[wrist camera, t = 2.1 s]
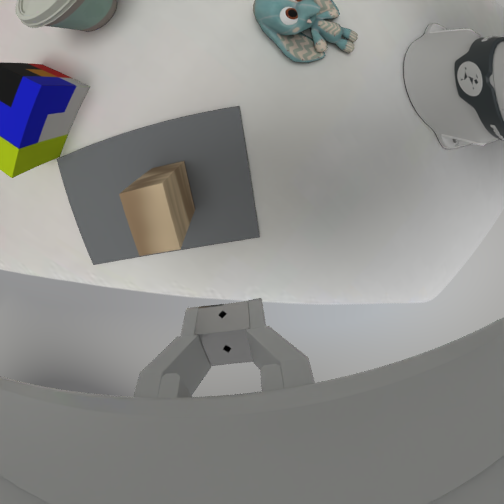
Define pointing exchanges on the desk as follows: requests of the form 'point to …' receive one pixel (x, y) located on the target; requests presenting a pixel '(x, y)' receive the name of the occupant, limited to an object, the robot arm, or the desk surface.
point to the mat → (154, 155)
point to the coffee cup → (66, 13)
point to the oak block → (159, 208)
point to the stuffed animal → (302, 27)
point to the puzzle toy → (35, 114)
